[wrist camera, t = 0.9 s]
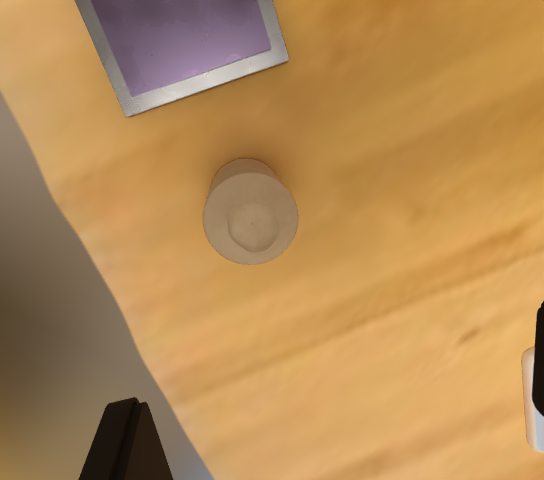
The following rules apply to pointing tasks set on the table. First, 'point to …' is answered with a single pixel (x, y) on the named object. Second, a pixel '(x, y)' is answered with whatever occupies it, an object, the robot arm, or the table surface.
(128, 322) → the table surface
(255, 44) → the ink pad
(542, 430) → the calculator
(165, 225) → the table surface
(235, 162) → the candle
